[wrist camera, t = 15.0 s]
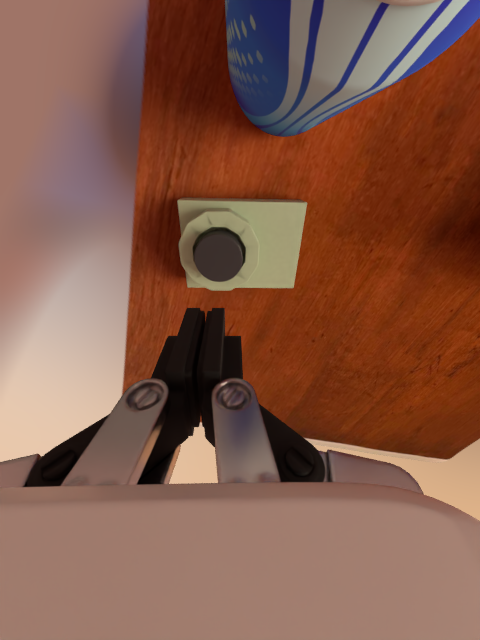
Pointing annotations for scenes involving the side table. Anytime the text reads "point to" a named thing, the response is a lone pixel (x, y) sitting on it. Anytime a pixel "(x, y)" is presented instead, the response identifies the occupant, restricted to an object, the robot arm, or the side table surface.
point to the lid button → (218, 256)
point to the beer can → (331, 53)
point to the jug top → (245, 238)
